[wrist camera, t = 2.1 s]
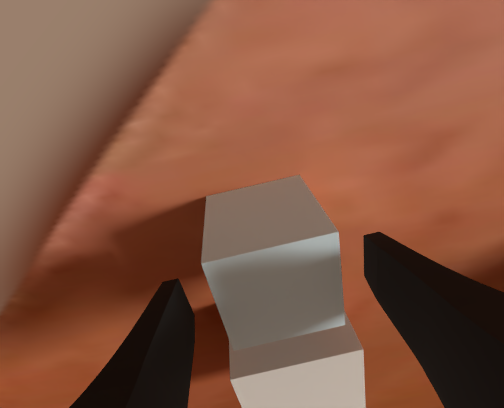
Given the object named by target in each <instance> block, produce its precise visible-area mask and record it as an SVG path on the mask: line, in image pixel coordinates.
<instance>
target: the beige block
mask: <svg viewBox="0 0 504 408" xmlns="http://www.w3.org/2000/svg"><path fill="white" fill-rule="evenodd" d="M344 316H345V325H343V326H339V327H334V328H330V329H326V330H321V331H317V332H313V333H309V334H304V335H300V336H296V337H291V338H287V339H283V340H278V341H274V342H270V343H266V344H261V345H257V346H253V347H248V348H244V349H240V350H235V351H233V348H232V346H231V343H230V340H229V358H230V381H231V383H232V385H233V388H234V390H235V392H236V395H237V397H238V399H239V402H240V404H241V406H242V408H365V381H364V354H363V348H362V346H361V344H360V342H359V340H358V337H357V335H356V333H355V331H354V329H353V327H352V325H351V323H350V321H349V319H348V317H347V315H346V313H345V311H344Z"/></svg>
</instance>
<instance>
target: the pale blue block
mask: <svg viewBox="0 0 504 408" xmlns="http://www.w3.org/2000/svg"><path fill="white" fill-rule="evenodd" d="M201 265H202V268H203V270H204V273H205V276H206V279H207V281H208V284H209V287H210V289H211V292H212V295H213V297H214V300H215V303H216V305H217V308H218V311H219V313H220V316H221V319H222V321H223V324H224V327H225V329H226V332H227V335H228V337H229V340H230V343H231V346H232V348H233V351H235V350H240V349H244V348H248V347H253V346H257V345H261V344H266V343H270V342H274V341H278V340H283V339H287V338H291V337H296V336H300V335H304V334H309V333H313V332H317V331H321V330H326V329H330V328H334V327H339V326H343V325H345V316H344V302H343V287H342V273H341V259H340V245H339V232H338V230H337V229H336V227H335V226H334V224H333V223H332V221H331V220H330V219H329V217H328V216H327V214H326V213H325V211H324V210H323V208H322V207H321V205H320V204H319V203H318V201H317V200H316V198H315V197H314V195H313V194H312V192H311V191H310V189H309V188H308V187H307V185H306V184H305V182H304V181H303V179H302V178H301V176H300V175H296V176H292V177H287V178H283V179H279V180H274V181H270V182H266V183H262V184H257V185H253V186H249V187H244V188H240V189H236V190H231V191H227V192H223V193H219V194H214V195H210V196H206V207H205V220H204V232H203V245H202V257H201Z"/></svg>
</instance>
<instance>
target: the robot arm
mask: <svg viewBox="0 0 504 408" xmlns="http://www.w3.org/2000/svg"><path fill="white" fill-rule="evenodd" d="M364 276H365V278H366V280H367V282H368V284H369V286H370V288H371V290H372V292H373V294H374V295H375V297H376V299H377V301H378V302H379V304H380V305H381V307H382V308H383V310H384V311H385V313H386V314H387V316H388V317H389V318H390V320H391V321H392V323H393V324H394V326H395V327H396V329H397V330H398V332H399V333H400V334H401V336H402V337H403V339H404V340H405V342H406V343H407V345H408V346H409V348H410V349H411V350H412V352H413V353H414V355H415V357H416V358H417V360H418V361H419V363H420V364H421V366H422V368H423V369H424V371H425V373H426V375H427V377H428V378H429V380H430V382H431V384H432V385H433V387H434V389H435V391H436V393H437V394H438V396H439V398H440V400H441V402H442V404H443V405H444V407H445V408H504V292H501V291H499V290H496V289H494V288H491V287H489V286H486V285H484V284H481V283H479V282H477V281H474V280H472V279H470V278H467V277H465V276H463V275H461V274H459V273H457V272H455V271H453V270H450V269H448V268H446V267H444V266H442V265H440V264H438V263H436V262H434V261H432V260H430V259H428V258H427V257H425V256H423V255H421V254H419V253H417V252H415V251H414V250H412V249H410V248H408V247H406V246H404V245H403V244H401V243H399V242H397V241H395V240H394V239H392V238H390V237H388V236H386V235H385V234H383V233H381V232H376V233H372V234H368V235H364ZM194 343H195V321H194V313H193V311H192V308H191V306H190V304H189V302H188V299H187V297H186V295H185V292H184V290H183V288H182V286H181V283H180V281H179V279H174V280H169V281H165V282H162V284H161V286H160V287H159V289H158V290H157V292H156V293H155V295H154V296H153V298H152V299H151V301H150V303H149V304H148V306H147V307H146V309H145V310H144V312H143V314H142V315H141V317H140V318H139V320H138V321H137V323H136V324H135V326H134V327H133V329H132V330H131V332H130V333H129V335H128V336H127V337H126V339H125V340H124V341H123V343H122V344H121V346H120V347H119V348H118V350H117V351H116V353H115V354H114V355H113V357H112V358H111V359H110V361H109V362H108V363H107V364H106V366H105V367H104V368H103V369H102V371H101V372H100V373H99V374H98V376H97V377H96V378H95V379H94V380H93V382H92V383H91V384H90V385H89V386H88V388H87V389H86V390H85V391H84V392H83V393H82V394H81V396H80V397H79V398H78V399H77V400H76V401H75V402H74V403H73V404H72V405H71V406H70V407H69V408H187V406H188V397H189V388H190V380H191V371H192V362H193V353H194Z"/></svg>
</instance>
